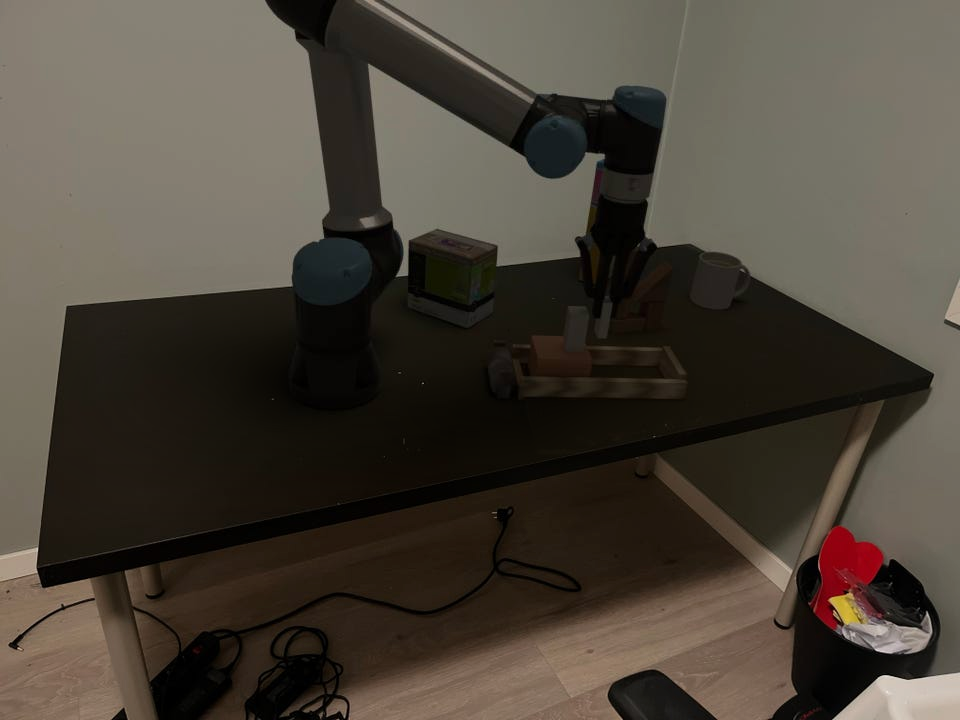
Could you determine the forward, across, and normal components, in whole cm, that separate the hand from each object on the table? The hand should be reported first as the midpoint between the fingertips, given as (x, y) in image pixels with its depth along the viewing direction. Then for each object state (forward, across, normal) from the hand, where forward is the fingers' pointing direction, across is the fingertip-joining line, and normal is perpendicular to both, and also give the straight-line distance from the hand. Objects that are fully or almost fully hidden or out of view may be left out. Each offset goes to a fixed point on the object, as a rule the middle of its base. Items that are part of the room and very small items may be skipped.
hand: (600, 334), depth 119 cm
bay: (+10, -2, 0) cm, 10 cm away
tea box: (+10, -24, +27) cm, 37 cm away
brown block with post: (+9, -6, 0) cm, 11 cm away
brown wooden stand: (+10, +12, +20) cm, 26 cm away
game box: (+10, +14, +51) cm, 54 cm away
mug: (+10, +35, +35) cm, 51 cm away
